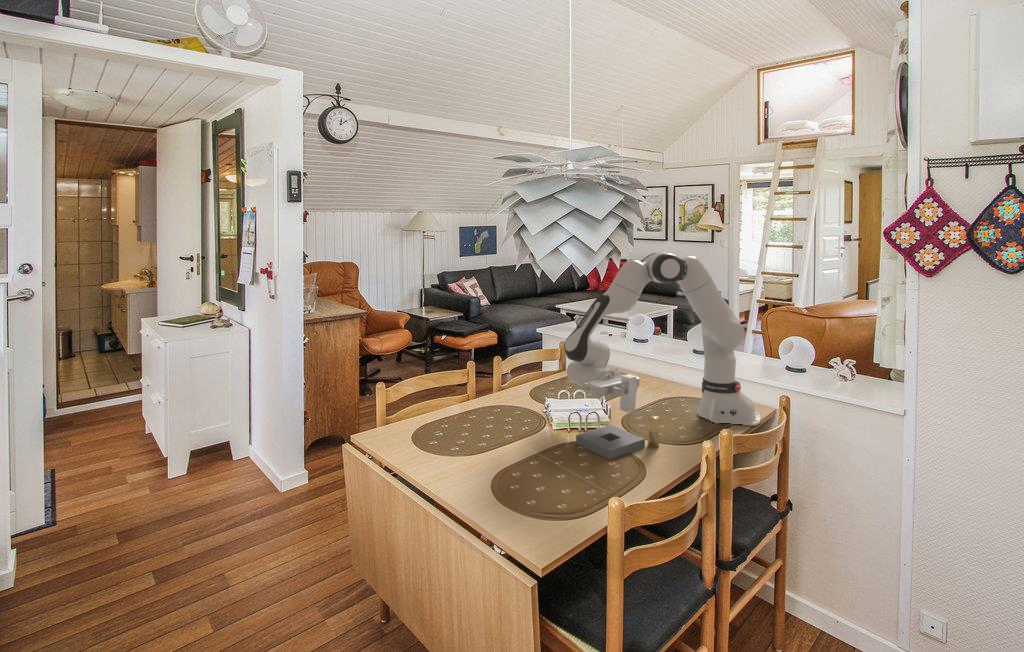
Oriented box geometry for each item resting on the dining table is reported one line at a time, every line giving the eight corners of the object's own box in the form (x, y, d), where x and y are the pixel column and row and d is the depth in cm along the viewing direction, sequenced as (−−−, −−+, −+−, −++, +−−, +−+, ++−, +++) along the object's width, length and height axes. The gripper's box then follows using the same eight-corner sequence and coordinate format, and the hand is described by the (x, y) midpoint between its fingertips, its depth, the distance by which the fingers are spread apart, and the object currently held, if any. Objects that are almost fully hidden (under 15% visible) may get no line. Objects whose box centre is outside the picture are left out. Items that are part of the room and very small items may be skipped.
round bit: (659, 445, 189) (660, 416, 187) (657, 449, 186) (658, 420, 184) (648, 443, 191) (649, 415, 189) (646, 447, 188) (647, 418, 186)
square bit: (619, 409, 193) (621, 375, 191) (627, 407, 195) (628, 373, 193) (627, 412, 190) (629, 378, 188) (635, 410, 192) (636, 376, 190)
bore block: (576, 443, 192) (576, 435, 191) (610, 432, 201) (610, 424, 200) (609, 459, 179) (609, 450, 178) (644, 447, 188) (645, 438, 187)
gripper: (579, 377, 195) (608, 387, 184) (622, 367, 207) (651, 376, 196) (579, 394, 197) (607, 405, 186) (621, 384, 208) (650, 394, 197)
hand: (630, 390), depth 191 cm, fingers closed on square bit, 4 cm apart
